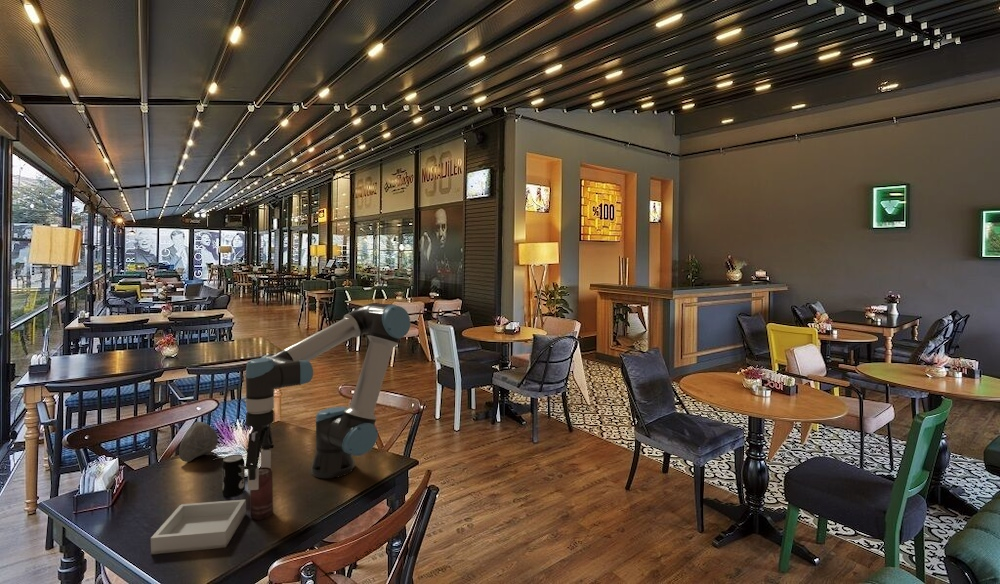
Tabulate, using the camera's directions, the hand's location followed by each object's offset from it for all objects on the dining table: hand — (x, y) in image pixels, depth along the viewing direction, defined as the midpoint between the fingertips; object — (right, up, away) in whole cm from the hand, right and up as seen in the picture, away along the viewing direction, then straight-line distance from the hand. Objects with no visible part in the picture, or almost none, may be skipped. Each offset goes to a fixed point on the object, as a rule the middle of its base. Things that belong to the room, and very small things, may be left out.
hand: (259, 479), depth 148 cm
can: (0, -12, +1) cm, 12 cm away
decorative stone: (-44, -8, +42) cm, 61 cm away
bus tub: (-12, -12, -9) cm, 19 cm away
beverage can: (-16, -10, +15) cm, 24 cm away
